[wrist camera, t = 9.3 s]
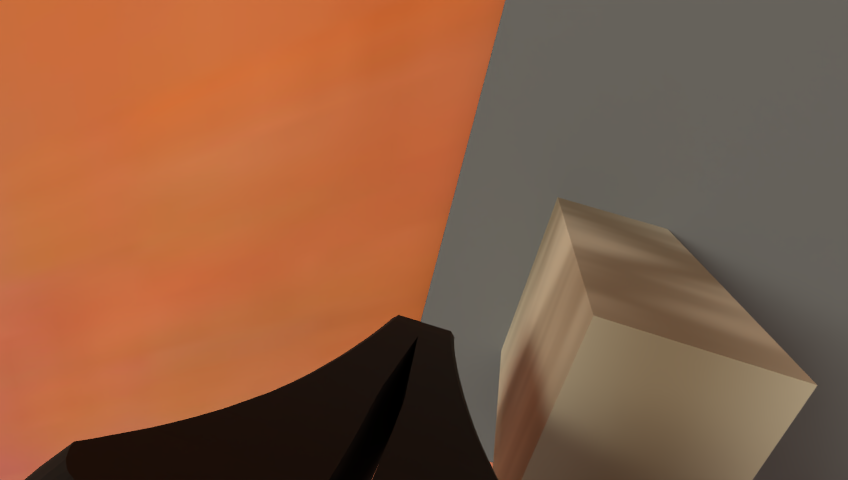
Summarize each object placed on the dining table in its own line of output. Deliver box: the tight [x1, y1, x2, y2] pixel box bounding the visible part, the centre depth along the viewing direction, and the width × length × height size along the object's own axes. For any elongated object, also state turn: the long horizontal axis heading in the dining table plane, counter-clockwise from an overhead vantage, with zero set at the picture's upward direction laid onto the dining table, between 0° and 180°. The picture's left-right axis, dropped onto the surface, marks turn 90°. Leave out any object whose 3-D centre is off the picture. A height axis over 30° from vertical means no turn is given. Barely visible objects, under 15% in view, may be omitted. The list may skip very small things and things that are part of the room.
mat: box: [421, 0, 848, 480], centre depth 15 cm, size 18×20×1 cm
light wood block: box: [493, 197, 817, 480], centre depth 12 cm, size 4×6×8 cm, turn 166°
